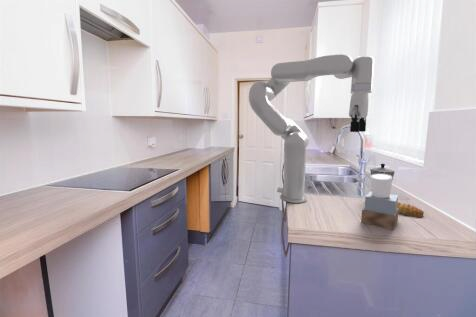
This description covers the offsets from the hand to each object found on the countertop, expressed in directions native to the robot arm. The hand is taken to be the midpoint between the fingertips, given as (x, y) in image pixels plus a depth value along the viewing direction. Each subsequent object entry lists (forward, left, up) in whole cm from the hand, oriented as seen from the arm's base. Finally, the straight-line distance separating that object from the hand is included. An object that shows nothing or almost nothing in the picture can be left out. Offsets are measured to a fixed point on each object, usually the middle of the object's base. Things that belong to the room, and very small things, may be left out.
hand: (357, 131), depth 99 cm
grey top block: (+12, -11, -28) cm, 32 cm away
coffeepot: (+7, +16, -32) cm, 37 cm away
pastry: (+19, +7, -33) cm, 38 cm away
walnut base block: (+12, -11, -33) cm, 37 cm away
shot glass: (+12, -11, -22) cm, 28 cm away
